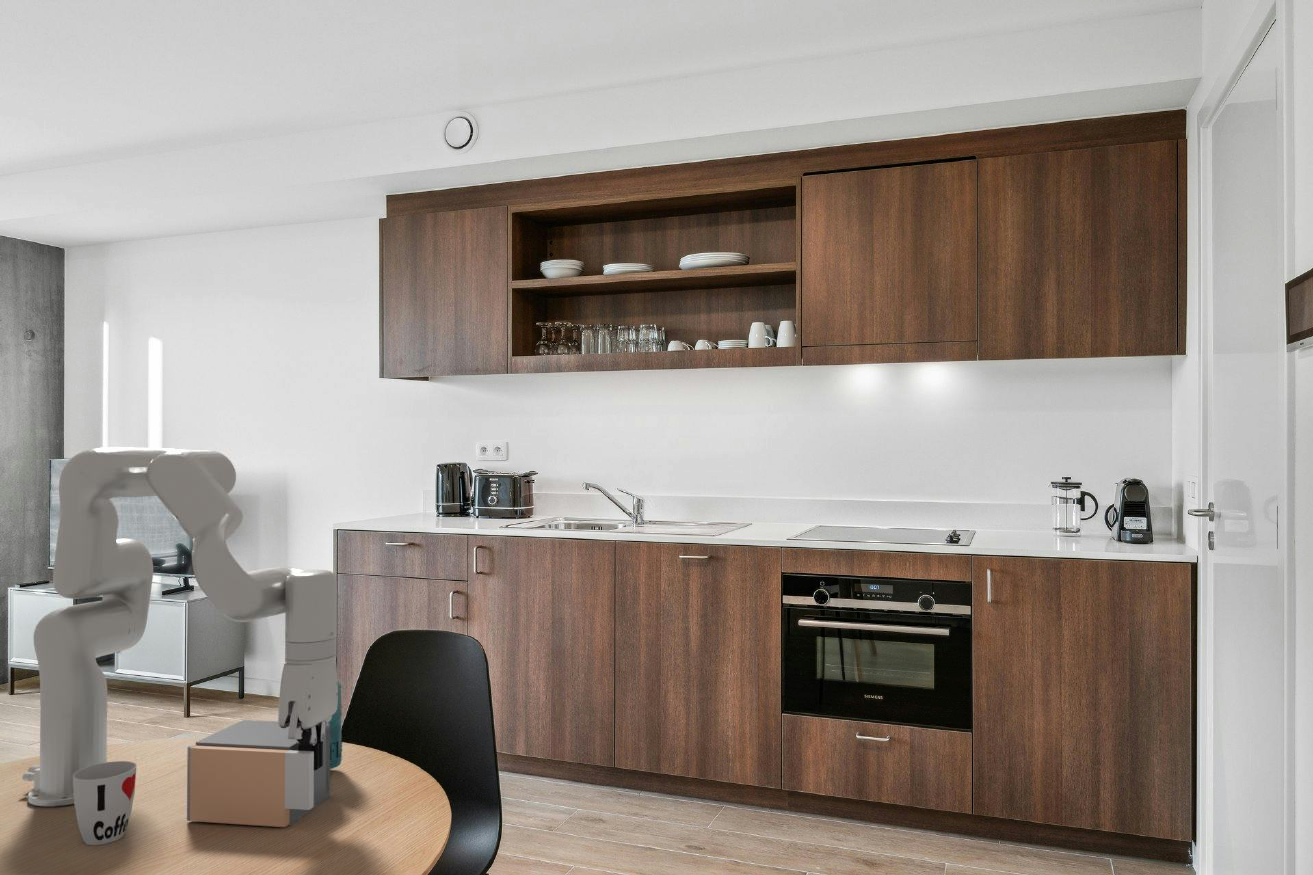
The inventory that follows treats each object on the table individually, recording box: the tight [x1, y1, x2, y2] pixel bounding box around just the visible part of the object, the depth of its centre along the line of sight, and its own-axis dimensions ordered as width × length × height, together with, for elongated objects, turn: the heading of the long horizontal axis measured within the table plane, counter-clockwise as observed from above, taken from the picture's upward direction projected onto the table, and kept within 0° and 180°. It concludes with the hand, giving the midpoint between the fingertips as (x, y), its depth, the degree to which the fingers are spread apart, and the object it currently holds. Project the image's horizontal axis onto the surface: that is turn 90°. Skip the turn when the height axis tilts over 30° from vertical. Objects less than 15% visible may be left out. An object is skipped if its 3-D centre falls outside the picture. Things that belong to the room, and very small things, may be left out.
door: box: [186, 745, 315, 828], centre depth 136 cm, size 21×1×11 cm, turn 81°
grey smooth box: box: [195, 719, 331, 827], centre depth 143 cm, size 16×12×12 cm
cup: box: [73, 760, 137, 846], centre depth 132 cm, size 8×8×10 cm
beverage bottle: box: [328, 681, 343, 770], centre depth 159 cm, size 6×7×20 cm
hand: (310, 767), depth 138 cm, fingers closed
